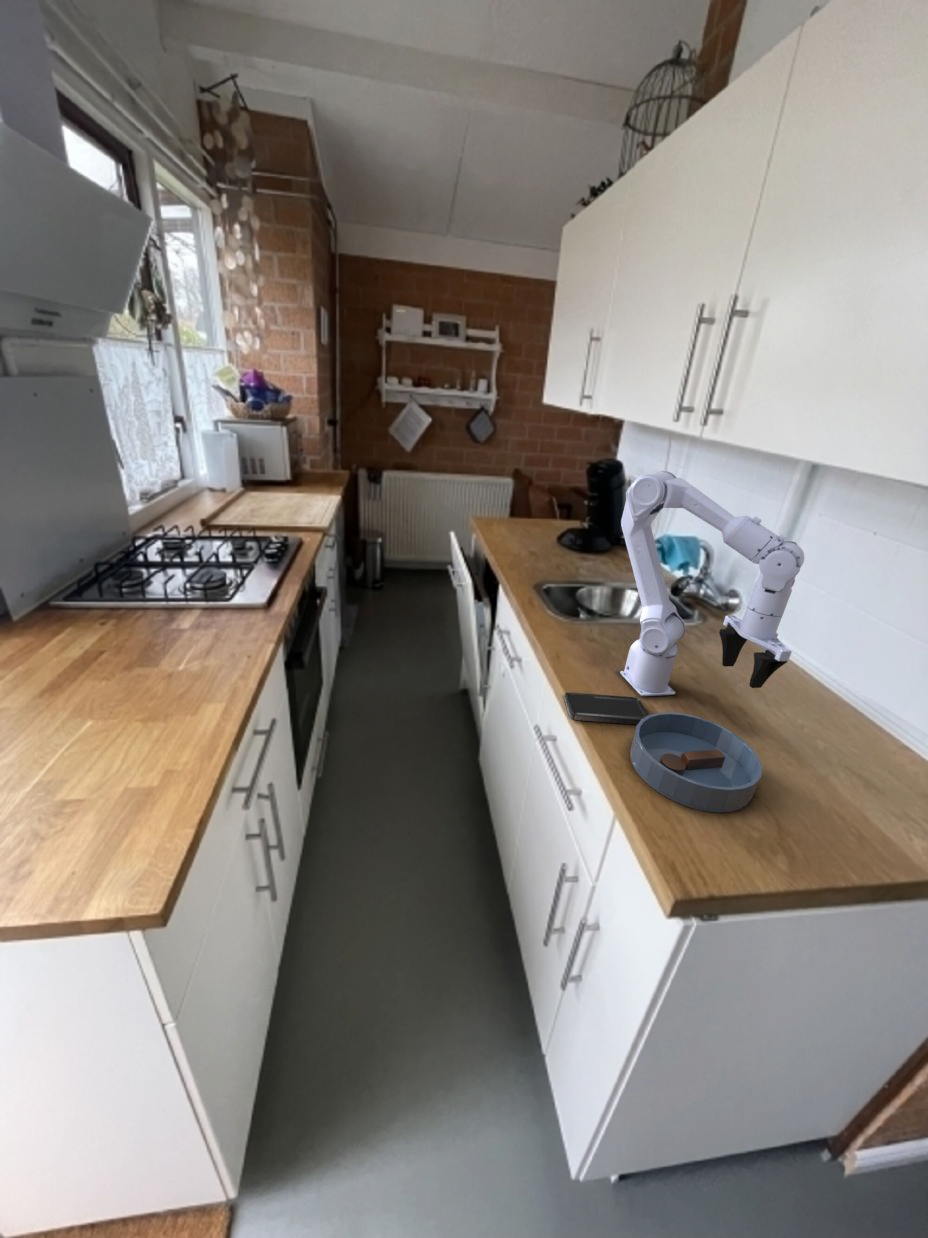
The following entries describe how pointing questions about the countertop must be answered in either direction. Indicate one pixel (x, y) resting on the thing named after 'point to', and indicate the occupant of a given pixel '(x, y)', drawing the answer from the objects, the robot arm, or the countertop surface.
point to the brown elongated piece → (693, 760)
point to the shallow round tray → (698, 786)
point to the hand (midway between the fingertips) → (740, 675)
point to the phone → (604, 708)
